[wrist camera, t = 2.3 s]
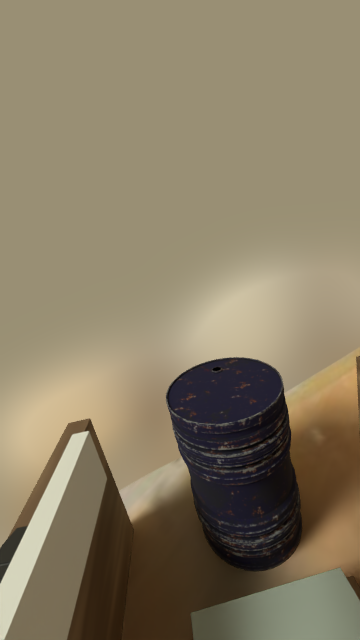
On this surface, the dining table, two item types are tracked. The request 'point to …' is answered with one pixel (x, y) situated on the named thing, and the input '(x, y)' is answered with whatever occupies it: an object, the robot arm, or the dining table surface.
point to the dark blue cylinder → (239, 459)
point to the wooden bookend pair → (100, 547)
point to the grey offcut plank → (286, 613)
